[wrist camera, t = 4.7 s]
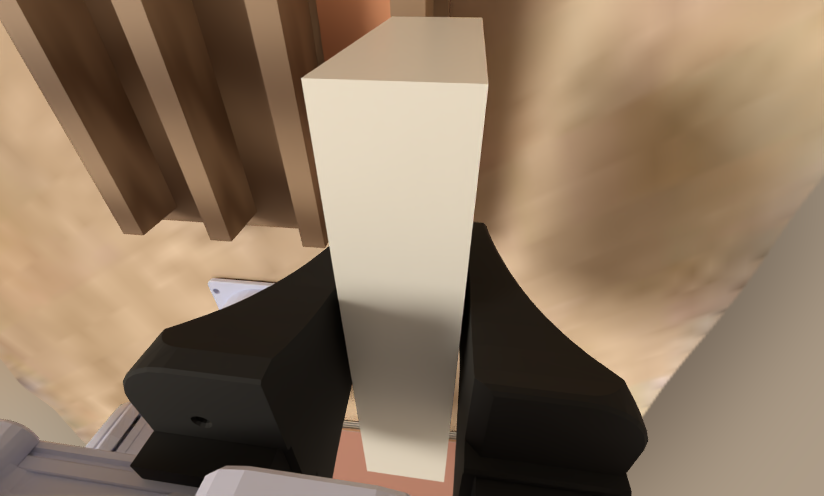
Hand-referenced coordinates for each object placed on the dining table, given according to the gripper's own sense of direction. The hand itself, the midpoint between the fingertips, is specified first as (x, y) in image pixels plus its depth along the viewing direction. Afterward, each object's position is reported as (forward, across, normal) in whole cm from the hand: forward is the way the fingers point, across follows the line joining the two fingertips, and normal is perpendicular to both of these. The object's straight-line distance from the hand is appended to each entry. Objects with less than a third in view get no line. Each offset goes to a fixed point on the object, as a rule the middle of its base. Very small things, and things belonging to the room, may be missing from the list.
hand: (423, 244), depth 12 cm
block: (+2, 0, 0) cm, 2 cm away
